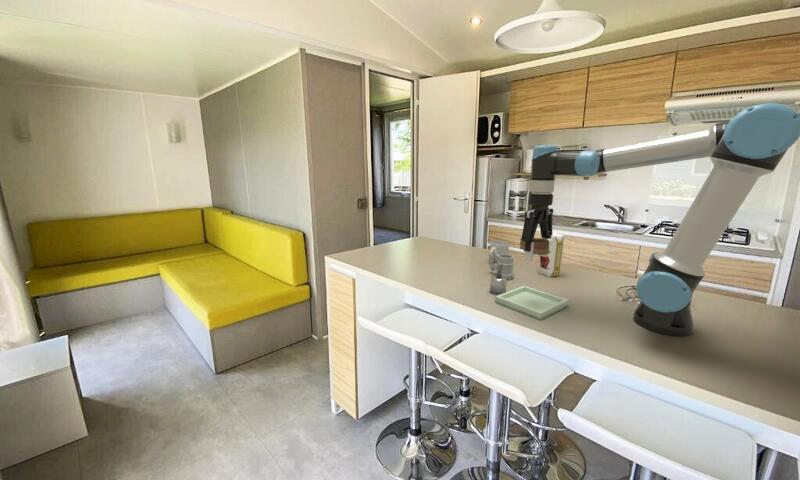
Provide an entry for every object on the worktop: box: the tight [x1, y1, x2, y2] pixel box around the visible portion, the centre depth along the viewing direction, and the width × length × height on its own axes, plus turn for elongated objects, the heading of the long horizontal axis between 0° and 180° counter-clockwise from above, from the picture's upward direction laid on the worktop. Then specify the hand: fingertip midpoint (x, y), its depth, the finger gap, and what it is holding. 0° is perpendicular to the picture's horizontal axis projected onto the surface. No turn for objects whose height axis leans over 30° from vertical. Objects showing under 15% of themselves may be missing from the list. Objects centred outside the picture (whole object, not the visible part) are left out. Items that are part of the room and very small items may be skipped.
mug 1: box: [488, 240, 510, 263], centre depth 174 cm, size 13×9×10 cm
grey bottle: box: [489, 262, 508, 296], centre depth 133 cm, size 6×6×12 cm
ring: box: [519, 237, 549, 256], centre depth 119 cm, size 10×8×4 cm
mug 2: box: [489, 249, 515, 281], centre depth 152 cm, size 8×12×12 cm, turn 39°
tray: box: [494, 285, 570, 321], centre depth 123 cm, size 18×18×2 cm
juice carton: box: [538, 231, 566, 278], centre depth 154 cm, size 8×9×19 cm
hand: (535, 258), depth 119 cm, fingers closed on ring, 8 cm apart
